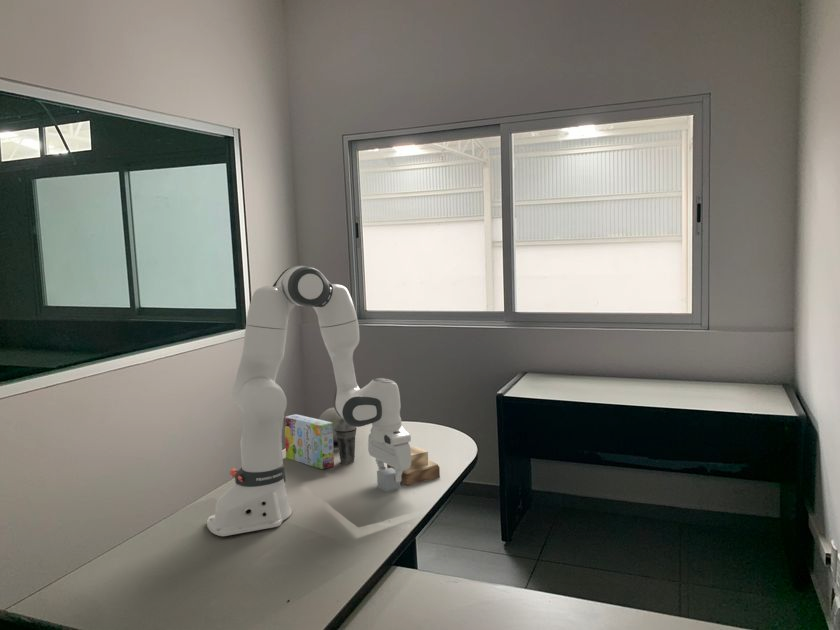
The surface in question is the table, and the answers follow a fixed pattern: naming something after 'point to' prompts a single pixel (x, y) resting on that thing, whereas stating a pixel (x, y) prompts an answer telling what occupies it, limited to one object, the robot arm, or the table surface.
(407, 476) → the plinth
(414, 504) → the table surface
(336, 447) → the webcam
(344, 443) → the beverage cup
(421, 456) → the oak block
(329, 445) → the snack box
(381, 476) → the grey cube
